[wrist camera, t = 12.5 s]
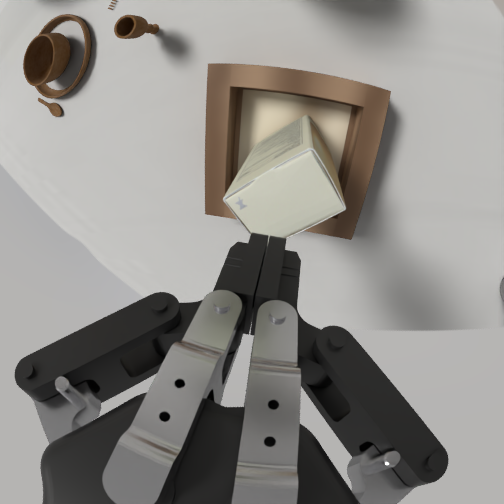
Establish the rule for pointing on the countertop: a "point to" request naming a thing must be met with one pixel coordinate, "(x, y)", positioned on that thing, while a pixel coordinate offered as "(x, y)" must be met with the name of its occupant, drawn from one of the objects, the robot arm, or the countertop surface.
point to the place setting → (58, 53)
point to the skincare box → (286, 183)
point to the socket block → (283, 113)
